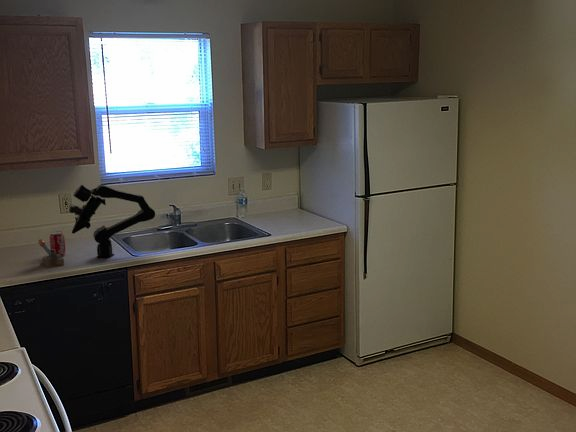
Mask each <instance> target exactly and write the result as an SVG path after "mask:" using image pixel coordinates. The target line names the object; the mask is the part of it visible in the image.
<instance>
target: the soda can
mask: <svg viewBox="0 0 576 432" xmlns="http://www.w3.org/2000/svg"><path fill="white" fill-rule="evenodd" d="M53 249H54V253H57V254H60V255H61V256H62V257H64V256H65V255H66V249H67V248H66V240H65V235H64V233H63V231H59V230H58V231H57V230H56V231H51V232H50V235H49V250H53Z"/></svg>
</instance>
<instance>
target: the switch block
mask: <svg viewBox="0 0 576 432" xmlns="http://www.w3.org/2000/svg"><path fill="white" fill-rule="evenodd" d="M49 250H50V251H51V253H52V254H51V257H50V256H49V255H44V256H43V255H42V260H43V264H44V266H45V267H46V268H51V267H52V268H53V267H59V266H60V267H61V266H65V260H64V258H63V257H64V256H61V255H60V254H57V253H54V249H53V250H51V249H49ZM51 258H52V259H51Z"/></svg>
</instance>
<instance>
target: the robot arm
mask: <svg viewBox="0 0 576 432" xmlns="http://www.w3.org/2000/svg"><path fill="white" fill-rule="evenodd" d="M73 197H74V198H76V199H77V200H79V201H80V202H83V203H84V202H86V203H85V204H83V205H82V206H80V205H75V204H70V206H69V209H68V211H69V213H70V214H74V215H75V216H74V219H75V223H74V225H73V228H72V230H71V233H72V234H74V235H75V233H77V232H79V231H81V230H82V229H89V228H91V219H92V217H93V215H96V211H97V210H98V209H99V208H100V206H101V205H103V206H106V204H107V203H106V199H119V200H123V201H129V202H133V203H137V204H138V207H139V208H140V209H139V210H138V212H137V213H136V214H134V215H132V216H129V217H128V218H125V219H124V220H121V221H119V222H116V223H115V224H112V225H111V226H108V227H106V226H105V225H102V226H100V227H99V228H98V227H97V228H96V229H95V231H93V235H92V236H93V239H94V241H95V242H96V243H98V244H97V247H96V253H97V256H96V258H98V259H99V258H100V259H109V258H111V257H112V256H115V254H114V253H113V244H112V241H111V238H112V237H113V236H114V235H116V234H118V233H120V232H122V231H124V230H127V229H128V228H131V227H132V226H135V225H137V224H138V223H142V222H143V223H144V222H147V221H151V220H153V219H154V218H155V216H156V212H155V210H154V209H153V208H152V207H151V206H149V204H148V203H147V200H146V199H145V197H144V196H143V195H141V194H137V193H132V192H127V191H123V190H118V189H115V188H113V187H110V186H108V185H105V184H99V185H98V186H97V187H96V188H92V189H89V188H87V187H86V186H84V185H83V184H80V186H78V188H77V189H76V190H75V192H74V193H73Z"/></svg>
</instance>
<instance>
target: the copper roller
mask: <svg viewBox="0 0 576 432" xmlns="http://www.w3.org/2000/svg"><path fill="white" fill-rule="evenodd" d="M37 243H38V244H39V246H40V247H42V248H43V250H44V251H45V252H46V253H47V256H50V257H51V254H52V253H51V251H50V250H51V249H50V248H49V247H48V246H47V244H46V242H45V241H44V240H43V239H42V238H39V239H38V241H37ZM51 259H52V258H51Z"/></svg>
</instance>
